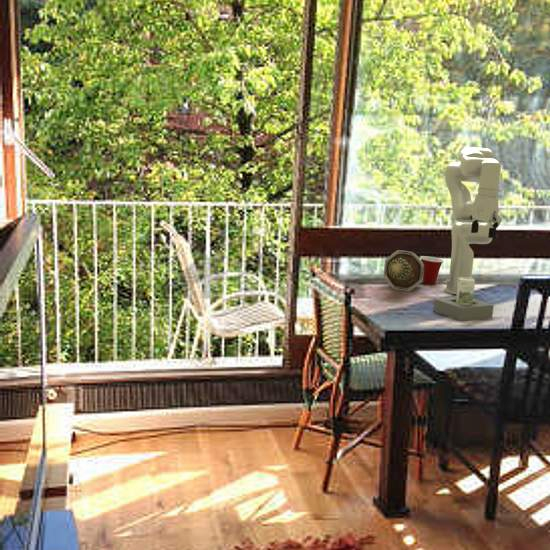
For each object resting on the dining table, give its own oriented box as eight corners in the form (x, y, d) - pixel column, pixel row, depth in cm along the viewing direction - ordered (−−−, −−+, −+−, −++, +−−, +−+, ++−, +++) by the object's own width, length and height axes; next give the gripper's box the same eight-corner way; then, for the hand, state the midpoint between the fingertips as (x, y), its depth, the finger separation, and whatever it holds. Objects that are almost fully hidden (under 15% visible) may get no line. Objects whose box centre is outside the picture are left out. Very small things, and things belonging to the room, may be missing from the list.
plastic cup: (443, 286, 349) (446, 260, 346) (419, 285, 349) (422, 259, 346) (439, 281, 359) (441, 256, 357) (416, 280, 360) (418, 255, 357)
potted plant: (392, 250, 351) (378, 244, 323) (431, 256, 345) (421, 250, 317) (385, 288, 351) (371, 284, 323) (424, 295, 345) (413, 292, 317)
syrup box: (469, 312, 303) (472, 277, 300) (471, 316, 298) (475, 280, 295) (454, 311, 304) (457, 276, 301) (456, 315, 298) (460, 279, 295)
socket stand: (433, 311, 303) (434, 298, 302) (462, 307, 312) (464, 295, 311) (462, 321, 290) (463, 308, 289) (492, 317, 298) (493, 304, 297)
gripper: (465, 189, 307) (460, 231, 312) (496, 196, 293) (491, 240, 297) (479, 189, 311) (474, 230, 315) (511, 195, 296) (505, 239, 301)
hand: (482, 235), depth 306 cm, fingers open, 9 cm apart
